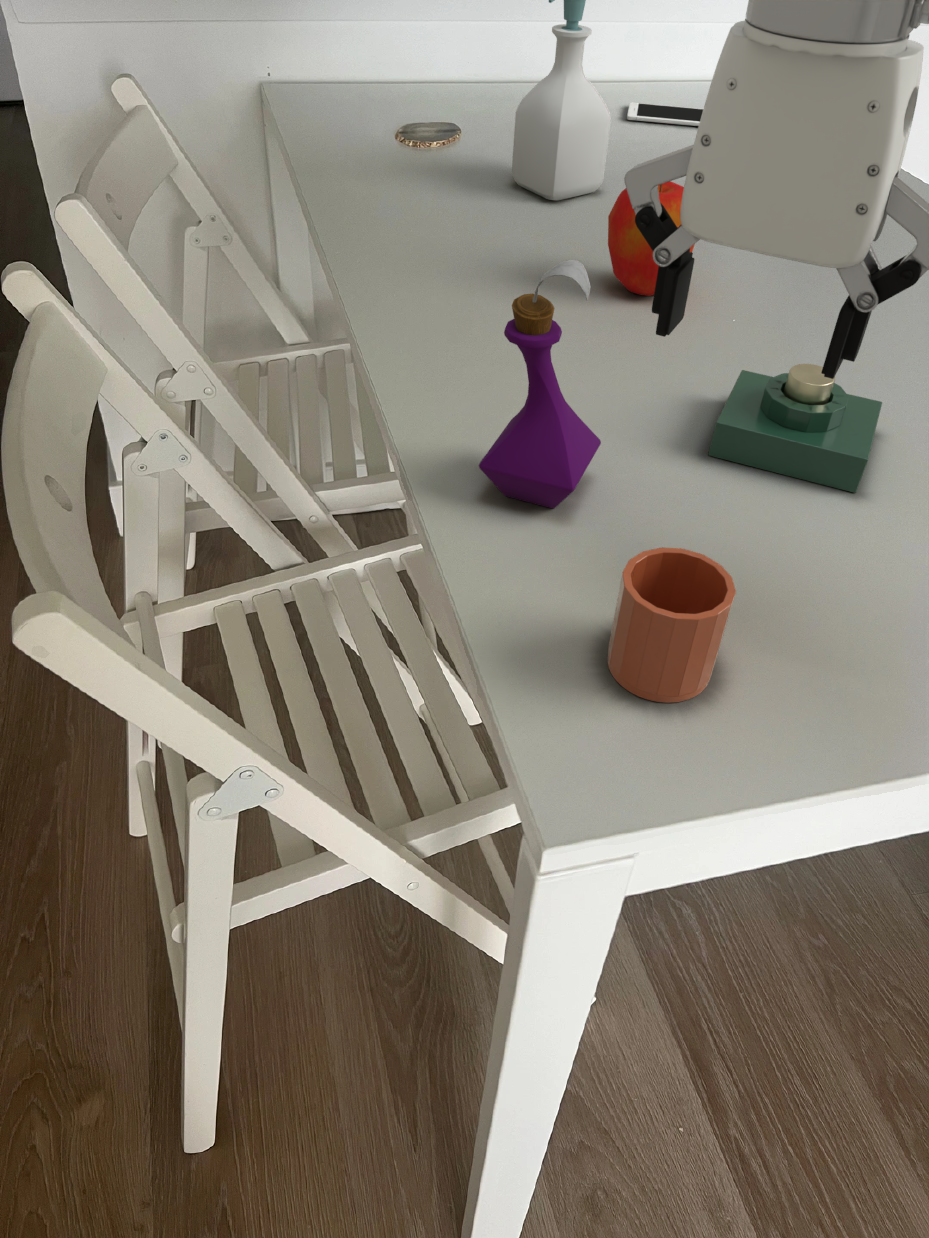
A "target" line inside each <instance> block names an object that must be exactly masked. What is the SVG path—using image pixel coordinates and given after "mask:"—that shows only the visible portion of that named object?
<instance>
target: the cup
mask: <svg viewBox="0 0 929 1238" xmlns="http://www.w3.org/2000/svg"><path fill="white" fill-rule="evenodd" d="M736 594H737V591H736V587H735V582H734V579H733V577H732V575H731V574H730V573H729V572H728V571H727V570H726V568H724V567H723V566H722V564H720V563H719V562H717V561H715V560H714V559H712V558H710V557H708V556H706V555H705V554H703V553H700V552H696V551H693V550H690V549H686V548H681V547H663V546H661V547H657V548H653V549H647V550H642V551H641V552H640V553H639V552H638V554H636V555H635V556H633V557H632V558H630V559H628V561H627V562H626V565H625V567H623V571H622V573H621V578H620V584H619V590H618V595H617V599H616V605H615V610H614V615H613V620H612V626H611V631H610V637H609V640H608V647H607V651H608V652H607V658H606V659H607V666H608V669H609V672H610V674H611V676H612V677H613V679H614V680H615V681H616V682H617V683H618V684H619V685H620V686H621V687H622V688H624V689H625V690H626V691H628V692H629V693H631V694H633V695H635V696H637V697H639V698H641V699H644V700H647V701H650V702H651V701H652V702H656V703H664V704H668V703H669V704H670V703H671V704H673V703H680V702H685V701H688V700H691V699H693V698H695V697H697V696H698V695H700V694H701V693H702V692H703V691H704V690H706V688H707V687H708V685H709V684H710V680H711V677H712V674H713V671H714V669H715V665H716V662H717V659H718V655H719V651H720V649H721V645H722V641H723V638H724V635H725V631H726V628H727V624H728V621H729V617H730V614H731V611H732V607H733V604H734V600H735V597H736Z"/></svg>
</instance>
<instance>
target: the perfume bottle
mask: <svg viewBox="0 0 929 1238" xmlns="http://www.w3.org/2000/svg"><path fill="white" fill-rule="evenodd" d="M555 276H564V277H567V278H569V279H571V280H573V281H574V282H576V283H577V284H578V286H579V288H580V289H581V290H582V291H583V293H584V296H585V300H586V302H587V301H588V299H589V297H590V292H591V288H592V287H591V283H590V279H589V274H588V272H587V269H586V267H585V266H584V264H583V263H581V262H580V261H579V260H577V259H566V260H564V261H561V262H559V263H557V264H556V265H555V266H553V267H552V268H550V269H549V270H548V271H547V272H545V273H544V274H542V276H541V279H540V280H539V282H538V284H537V286H536V288H535V291H534V293H524V294H522V295H519V296H518V297H516V298H514V299H513V301H512V303H511V309H512V314H513V319H510V320H508V321H507V323H506V325H505V327H504V331H503V334H504V337H505V338H506V339H507V341H508V342H509V343H511V344H513V345H515V346H517V348H518V349H519V351H520V352H521V354H522V357H523V359H524V363H525V366H526V372H527V382H528V387H527V396H526V400H525V402H524V405H523V406H522V408H521V409H520V410H519V411H518V413H516V414H515V415H514V417H512V418H511V419H510V421H509V422H508V423H507V425H506V426H505V428H504V429H503V430H502V432H501V433H500V434H499V436H498V437H497V438H496V440H495V441H494V443H493V444H492V445H491V447H490V448H489V450H488V451H487V452H486V454H485V455H484V456H483V458H482V459H481V461H480V462H479V463H478V468H479V469H480V470H481V472H482V473H483V474H484V475H485V476H486V477H487V479H488V480H489V481H491V482H492V484H493V485H494V487H496V488H497V489H498V490H499V492H501V494H502V495H503V496H505V497H507V498H511V499H516V500H519V501H523V502H526V503H530V504H535V505H538V506H542V507H545V508H549V509H555V508H557V507H558V506H559V505H560V504H561V503H562V502H564V500H566V499H567V498H568V497H569V496H570V495H571V494H572V493H573V492H574V491H575V490H576V488H577V486H578V485H579V482H580V481H581V479H582V477H583V475H584V474H585V472H586V470H587V468H588V467H589V465H590V463H591V462H592V460H593V458H594V456H595V455H596V453H597V451H598V449H599V447H600V446H601V444H602V441H601V439H600V438H599V436H597V435H596V434H595V433H594V431H592V429H591V428H590V427H589V426H588V425H587V424H586V423H585V422H584V421H583V420H582V419H581V418H580V417H579V415H578V414H577V413H576V412H575V410H573V408H572V406H570V405H569V404H568V402H567V401H566V399H565V397H564V395H563V393H562V390H561V388H560V384H559V381H558V379H557V375H556V372H555V369H554V365H553V361H552V347H553V345H555V344H557V343H560V340H561V338H562V334H563V331H562V327H561V326H560V325H559V324H558V322H557V321H556V320H553V318H554V313H555V307H554V305H553V303H552V301H550V299H548V298H546V297H544V296H543V295H541V294H539V288H541V285H542V284H543V282H544V281H545V280H547V279H548V278H551V277H555Z"/></svg>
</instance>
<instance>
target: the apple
mask: <svg viewBox="0 0 929 1238" xmlns="http://www.w3.org/2000/svg"><path fill="white" fill-rule="evenodd" d="M683 189H684V186H682V185H681V184H678V183H676V182H673V181H669V182H666V183H663V184H660V185H658V193H659V200H660V203H661V204H662V205H663V206H664V208H665V209H666V211H667V212H668V214H669V215H670V217H671V218H672V220H673V222H674V223H675V225H676V226H677V228H678V227H679V226H680V225H681V219H680V211H681V202H682V195H683ZM635 216H636V215H635V212H634V209H632V205H631V202H630V199H629V195H628V192H627V189H626V187H625V188H624V189H623V190H622V191H621V192H620V193H619V195H618V196H617V198H616V200H615V202H614V203H613V206H612V208H611V210H610V212H609V214H608V218H607V219H608V220H607V222H608V223H607V231H608V232H607V246H608V252H609V257H610V262H611V268H612V272H613V273H612V274H613V275H614V277H615V278H616V279H617V280H618V281H619V282H620V283H621V284H622V285H623V286H624V288H625V289H626V290H627V291H629V292H630V293H632V294H637V295H640V296H647V297H648V296H649V297H650V296H654V291H655V285H656V279H657V273H658V267H659V265H657V264H656V263H655V262H654V260H653V251H652V249H651V248H650V246H649V244H648V243H647V241H646V240H645V238H644V237H643V235H642V234H641V232H640V231H639V229H638V228H637V226H636V224H635ZM695 245H696V243H695V244H694V245H693V246H692V247H690V252H692V253H693V251H694V247H695Z"/></svg>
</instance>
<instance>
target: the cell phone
mask: <svg viewBox="0 0 929 1238" xmlns="http://www.w3.org/2000/svg"><path fill="white" fill-rule="evenodd" d="M703 109H704V108H698V107H688V106H676V105H666V104H665V105H664V104H654V103H642V102H629V104H628V109H627V114H626V119H627V120H628V121H639V122H649V123H661V124H672V125H682V126H694V127H699V123H700V119H701V116H702V112H703Z"/></svg>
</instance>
